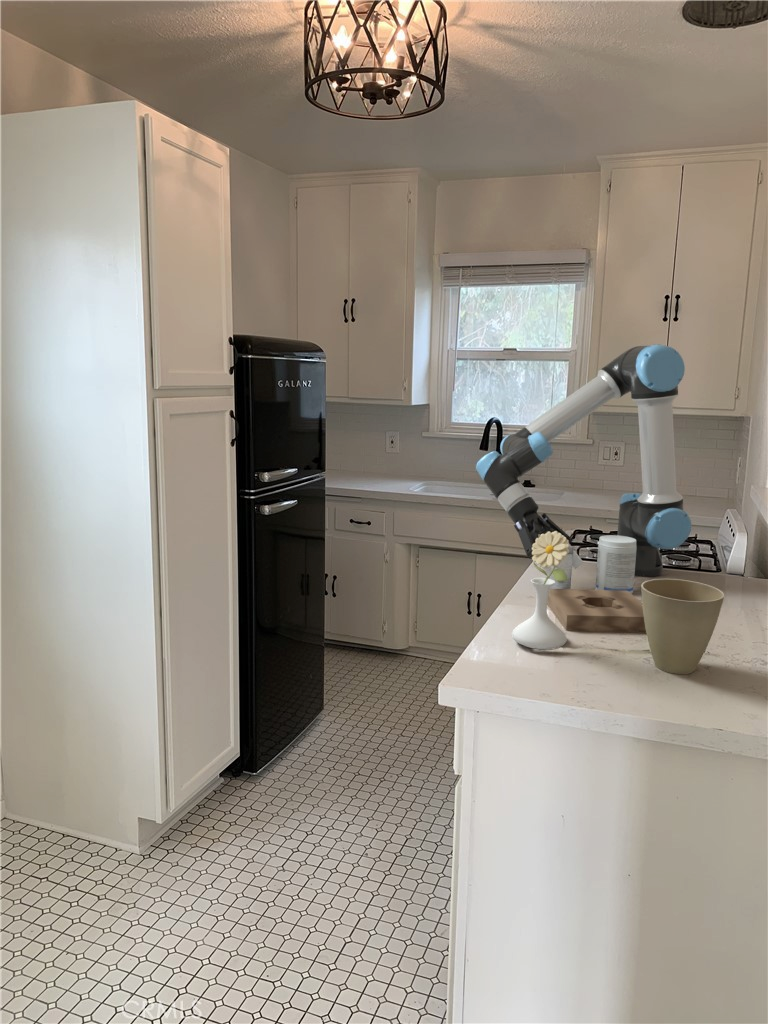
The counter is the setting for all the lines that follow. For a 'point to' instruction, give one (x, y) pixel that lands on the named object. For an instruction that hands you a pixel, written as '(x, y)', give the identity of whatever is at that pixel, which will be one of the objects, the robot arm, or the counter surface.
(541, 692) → the counter surface
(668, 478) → the robot arm
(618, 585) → the supplement tub
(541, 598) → the flower in vase
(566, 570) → the silver capped jar
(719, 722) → the counter surface
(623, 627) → the walnut socket block
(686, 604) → the plant pot
